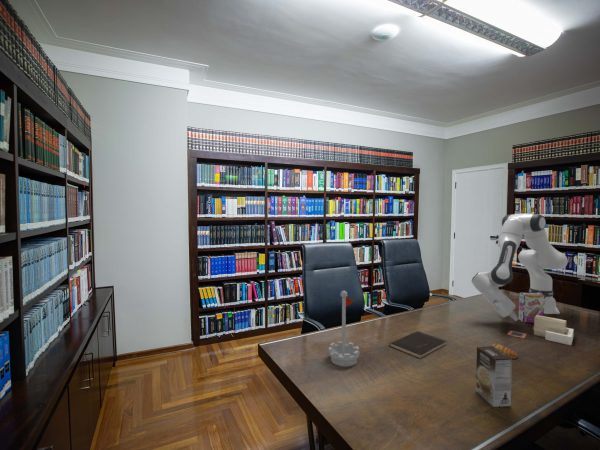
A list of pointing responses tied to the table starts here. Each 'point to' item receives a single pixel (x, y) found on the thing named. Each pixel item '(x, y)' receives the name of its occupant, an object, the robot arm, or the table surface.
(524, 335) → the plate
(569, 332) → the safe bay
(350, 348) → the flag stand
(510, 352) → the pastry
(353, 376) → the table surface
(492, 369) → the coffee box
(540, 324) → the maple block
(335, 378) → the table surface
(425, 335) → the hardcover book
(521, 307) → the candy bar box
